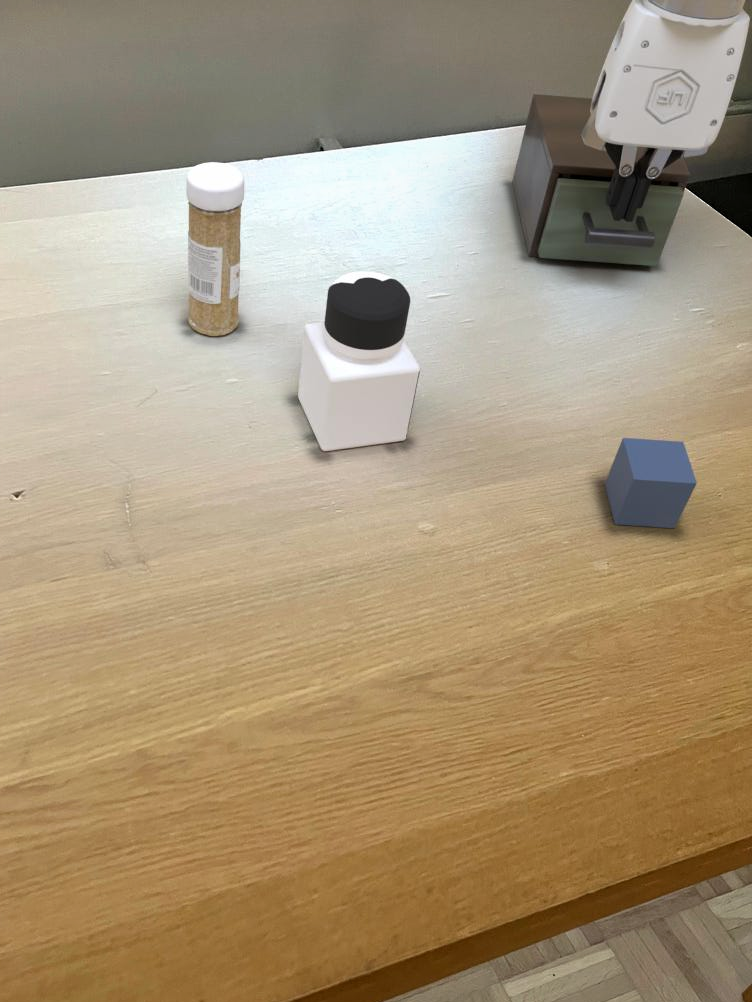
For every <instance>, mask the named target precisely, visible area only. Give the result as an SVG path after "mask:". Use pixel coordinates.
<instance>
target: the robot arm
mask: <svg viewBox="0 0 752 1002" xmlns="http://www.w3.org/2000/svg"><path fill="white" fill-rule="evenodd" d="M745 2H746V0H631V2H630V4H629V5H628V8H627V10H626V12H625V13H624V15H623V18H622V20H621V22H620V24H619V26H618V28H617V31H616V33H615V35H614V38H613V40H612V43H611V44H610V47H609V50H608V52H607V55H606V58H605V59H604V63H603V65H602V69H601V70H600V74H599V77H598V79H597V82H596V85H595V88H594V92H593V95H592V103H591V109H590V112H591V116H590V118H589V120H588V121H587V123H586V125H585V127H584V129H583V131H582V133H581V136H582V139H583V142H584V144H585V145H587V146H589V147H592V148H595V149H598V150H601V151H605V152H607V154H608V155H609V157H610V158H611V160H612V161H613V163H614V165H615V166H616V167H615V170H614V173H613V176H612V179H611V182H610V185H609V188H608V192H607V195H606V204H607V206H609V207H610V210H611V213H612V216H613V219H614V221H620V220H621V219H624V220H625V221H627V222H632V221H633V219H634V216H635V213H636V210H637V208H640V209H641V208H642V206H643V204H644V201H645V198H646V195H647V193H648V190H649V187H650V184H651V181H652V179H655V178H657V177H658V176H659V175H660V173H661V171H662V170H663V169H664V168H666V167H667V166H669V165H670V164H672V163H673V162H675V161H676V160H678V159H679V158H680V157H682V158H683V159H684V158H691V157H698V156H703V155H706V153H707V152H708V151H709V147H710V146H712V144H713V143H714V142H716V140H717V137H718V136H719V133H720V130H721V128H722V125H723V123H724V120H725V117H726V114H727V111H728V108H729V105H730V103H731V102H730V101H731V98H732V95H733V91H734V88H735V85H736V82H737V78H738V74H739V71H740V68H741V67H740V66H741V63H742V59H743V55H744V51H745V47H746V43H747V42H746V41H747V38H748V32H749V27H750V20H751V18H750V17H751V16H750V15H749V14H748V13H747V11H745V10H744V6H745ZM638 147H645V149H644V151H643V153H642V155H641V158H640V159H639V160H638V162H635V159H636V153H637V148H638Z"/></svg>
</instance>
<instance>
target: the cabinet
mask: <svg viewBox="0 0 752 1002" xmlns="http://www.w3.org/2000/svg"><path fill="white" fill-rule="evenodd" d="M592 99H593V97H591V98H590V97H577V96H566V95H565V96H564V95H551V94H539V93H538V94H537V93H533V95H532V99H531V103H530V106H529V110H528V114H527V118H526V123H525V127H524V131H523V135H522V138H521V142H520V143H521V144H520V148H519V152H518V155H517V156H518V157H517V159H516V164H515V168H514V172H513V177H512V181H511V182H512V183H511V184H512V187H513V191H514V196H515V200H516V204H517V210H518V214H519V219H520V222H521V228H522V233H523V237H524V240H525V245H526V249H527V254H528V257H534V258H540V257H539V253H538V249H539V245H540V242H541V238H542V234H543V231H544V227H545V224H546V220H547V216H548V213H549V209H550V205H551V202H552V198H553V194H554V191H555V187H556V183H557V180H558V177H559V174H571V175H584V176H598V177H612V176H613V173H614V170H615V167H616V166H615V165H614V163H613V161H612V160H611V158H610V157H609V155H608V154H607V152H605V151H601V150H598V149H595V148H592V147H589V146H587V145H585V144H584V142H583V139H582V136H581V133H582V131H583V129H584V127H585V125H586V123H587V121H588V120H589V118H590V116H591V112H590V109H591V103H592ZM644 149H645V147H638V148H637V153H636V159H635V162H638V160H639V159H640V158H641V155H642V153H643V151H644ZM690 177H691V173H690V171H689V170H688V167H687V165H686V163H685V161H684V157H680V158H679V159H678V160H676V161H675V162H673V163H672V164H670V165H669V166H667V167H666V168H664V169H663V170H662V171H661V173H660V175H659V176H658V177H657V178H655V179H652V181H666V182H670V183H669V186H672V187H681V188H682V190H683V192H684V193H685V190H686V188H687V185H688V182H689V179H690Z"/></svg>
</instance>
